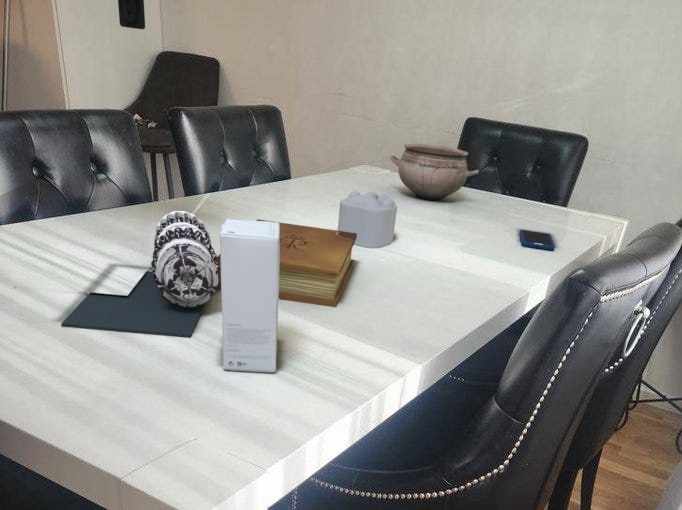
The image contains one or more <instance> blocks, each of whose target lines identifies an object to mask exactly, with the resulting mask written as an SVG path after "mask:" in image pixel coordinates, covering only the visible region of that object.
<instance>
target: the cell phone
mask: <svg viewBox="0 0 682 510" xmlns="http://www.w3.org/2000/svg"><path fill="white" fill-rule="evenodd" d="M519 238H520V243H521V246H522V247H528V248H535V249H542V250H546V251H548V250H549V251H555V248H556V245H555V243H554V240H553V237H552V235H551V233H549V232H548V233H547V232H542V231H534V230H527V229H520V230H519Z"/></svg>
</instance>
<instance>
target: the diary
mask: <svg viewBox="0 0 682 510" xmlns="http://www.w3.org/2000/svg"><path fill="white" fill-rule="evenodd" d="M255 221H266V222H274V221H273V220H264V219H260V218H259V219H256V220H255ZM276 222H277V223H279V225H280V260H279V300H284V301H292V302H298V303H305V304H312V305H319V306H325V307H331V308H332V307H333V308H337V306H338V304H339V302H340V299H341V296H342V294H343V292H344V290H345V287H346V285H347V283H348V280H349V278H350V276H351V273H352V270H353V268H354V266H355V259H352V252H353V247H354V245H355V244H354V243H355V241H356V239H357V233H351V232H344V231H338V229H337V230H336V229H328V228H322V227H315V226H308V225H301V224H295V223H294V224H293V223H288V222H287V223H286V222H280V221H279V222H278V221H276ZM216 262H217V263H218V265H219V269H218V271H217V272H218V284H217V288H218V289H219V290H220V291H221V258H220V254H218V255H217V259H216Z"/></svg>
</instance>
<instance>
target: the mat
mask: <svg viewBox="0 0 682 510" xmlns="http://www.w3.org/2000/svg"><path fill="white" fill-rule="evenodd" d="M206 305H207V302H205V303H203V304H201V305H199V306H192V307H184V306H181V305H177V304H174V303H172V302H171V301H170V300H169V299H167V298H166V297H165V296H164V295H163V294H162V292H161V290H160V289H159V287H158V285H157V283H156V282H155V281H154V276H153V272H152V270H151V271H150V270H146V271H145V272H144V274H143V275H142V276H141V277H140V278H139V280H138V281H137V283H135V285H134V287H133V288H131V290H130V291H129V293H128V294H127V295H123V294H113V293H101V292H100V293H99V292H89V293H88V294H87V295H86V296H85V297H84V298H83V299H82V301H81V302H80V303H79V304H78V305H77V306H76V307H75V308H74V309H73V310H72V311H71V312H70V314H69V315H67V316H66V318H64V320H63V321H62V322H61V323H60V325H61V327H63V328H76V329H78V328H79V329H87V330H97V331H98V330H99V331H111V332H121V333H122V332H123V333H132V334H133V333H135V334H146V335H158V336H168V337H169V336H171V337H182V338H191V337H192V335H193V333H194V330H195V329H196V327H197V324H198V322H199V320H200V318H201V315H202V313H203V311H204V309H205V307H206Z"/></svg>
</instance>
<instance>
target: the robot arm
mask: <svg viewBox="0 0 682 510" xmlns="http://www.w3.org/2000/svg"><path fill="white" fill-rule="evenodd" d="M117 6H118V19H119V25H120V26H121V28H130V29H135V30H136V29H137V30H145V28H146V17H145V15H146V14H145V0H117Z"/></svg>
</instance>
